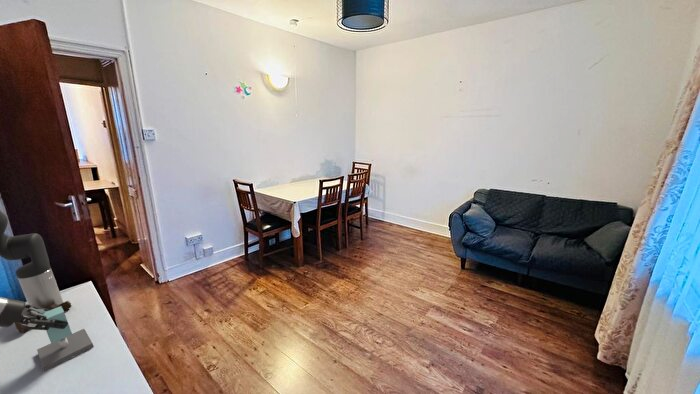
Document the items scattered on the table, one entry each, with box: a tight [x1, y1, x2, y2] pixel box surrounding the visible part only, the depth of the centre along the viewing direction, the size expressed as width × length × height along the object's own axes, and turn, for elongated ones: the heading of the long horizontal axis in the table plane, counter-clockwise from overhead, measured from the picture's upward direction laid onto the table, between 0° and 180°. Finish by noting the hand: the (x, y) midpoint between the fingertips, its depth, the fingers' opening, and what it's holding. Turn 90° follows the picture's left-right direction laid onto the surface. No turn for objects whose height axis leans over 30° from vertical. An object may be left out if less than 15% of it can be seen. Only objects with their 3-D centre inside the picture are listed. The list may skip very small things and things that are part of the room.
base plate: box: [36, 328, 94, 372], centre depth 96 cm, size 12×12×4 cm
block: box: [43, 306, 73, 344], centre depth 93 cm, size 5×5×9 cm
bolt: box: [14, 300, 73, 334], centre depth 112 cm, size 6×5×15 cm
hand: (64, 322), depth 95 cm, fingers closed on block, 5 cm apart
